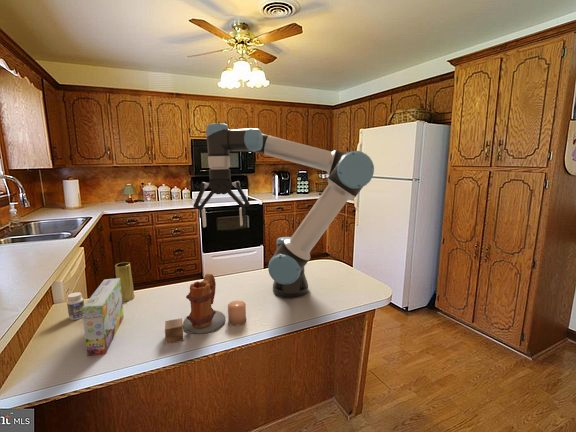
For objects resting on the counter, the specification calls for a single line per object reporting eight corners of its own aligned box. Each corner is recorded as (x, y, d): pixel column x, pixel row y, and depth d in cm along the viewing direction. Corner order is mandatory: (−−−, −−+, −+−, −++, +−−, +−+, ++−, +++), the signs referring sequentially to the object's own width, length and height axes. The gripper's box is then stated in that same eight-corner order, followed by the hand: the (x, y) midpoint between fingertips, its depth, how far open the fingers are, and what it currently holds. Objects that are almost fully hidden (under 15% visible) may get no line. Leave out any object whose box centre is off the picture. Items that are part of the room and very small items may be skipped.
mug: (206, 333, 95) (204, 289, 92) (183, 330, 97) (180, 287, 94) (224, 310, 109) (223, 271, 106) (204, 308, 111) (202, 270, 108)
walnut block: (183, 332, 97) (182, 318, 96) (183, 340, 93) (182, 326, 92) (166, 335, 96) (165, 321, 95) (166, 344, 91) (164, 329, 90)
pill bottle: (75, 321, 104) (72, 298, 102) (66, 318, 105) (62, 296, 104) (88, 314, 108) (85, 292, 106) (79, 312, 110) (76, 290, 108)
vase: (118, 303, 116) (114, 268, 113) (117, 297, 121) (113, 263, 119) (135, 299, 119) (132, 265, 117) (133, 293, 125) (130, 260, 122)
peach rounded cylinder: (246, 316, 107) (246, 300, 106) (244, 325, 101) (244, 309, 100) (230, 316, 107) (229, 300, 106) (226, 325, 101) (226, 309, 100)
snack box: (108, 353, 87) (102, 305, 84) (86, 357, 85) (79, 308, 82) (125, 316, 107) (120, 276, 104) (107, 319, 105) (102, 278, 102)
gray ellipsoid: (228, 311, 110) (228, 309, 110) (220, 333, 96) (220, 331, 96) (190, 311, 110) (190, 309, 110) (177, 334, 96) (176, 331, 96)
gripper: (254, 167, 113) (256, 222, 117) (186, 168, 111) (191, 224, 115) (254, 167, 106) (256, 226, 110) (181, 169, 104) (186, 229, 108)
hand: (223, 225), depth 112 cm, fingers open, 13 cm apart
